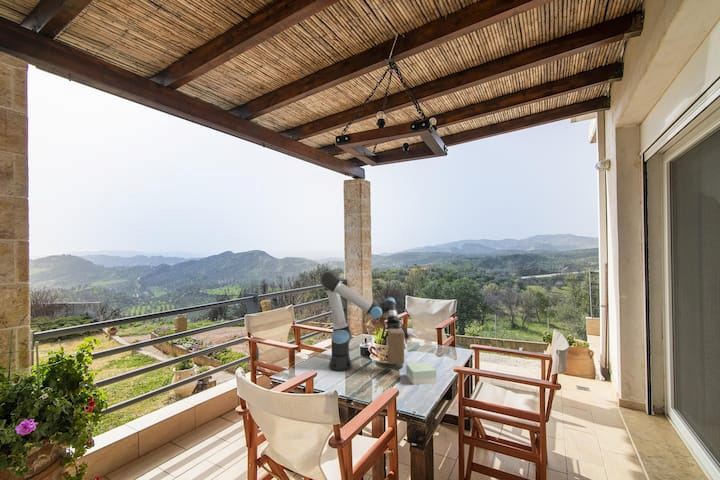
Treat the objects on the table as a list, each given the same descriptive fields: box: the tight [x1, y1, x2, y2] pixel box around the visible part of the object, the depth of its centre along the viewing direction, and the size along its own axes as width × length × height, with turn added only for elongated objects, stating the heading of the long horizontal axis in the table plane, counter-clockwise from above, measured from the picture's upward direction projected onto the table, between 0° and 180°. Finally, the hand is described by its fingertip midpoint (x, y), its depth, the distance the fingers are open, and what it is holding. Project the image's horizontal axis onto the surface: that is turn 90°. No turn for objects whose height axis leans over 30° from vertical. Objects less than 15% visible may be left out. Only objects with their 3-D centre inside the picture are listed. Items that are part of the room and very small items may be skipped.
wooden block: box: [387, 328, 405, 365], centre depth 208 cm, size 10×10×20 cm
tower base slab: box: [405, 369, 437, 386], centre depth 196 cm, size 14×14×4 cm
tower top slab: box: [405, 361, 437, 379], centre depth 196 cm, size 14×14×4 cm
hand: (396, 348), depth 206 cm, fingers closed on wooden block, 11 cm apart
